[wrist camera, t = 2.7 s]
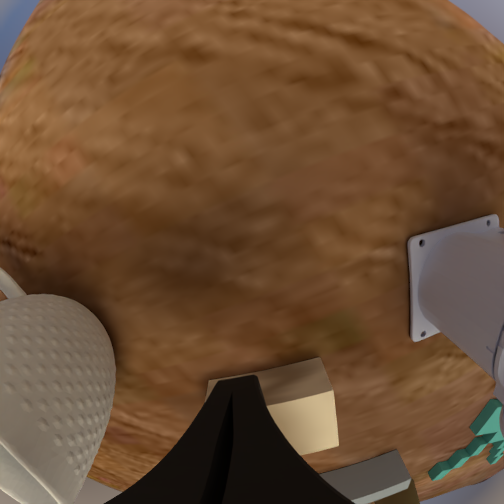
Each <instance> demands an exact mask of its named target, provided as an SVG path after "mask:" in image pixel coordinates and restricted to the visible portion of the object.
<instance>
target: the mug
mask: <svg viewBox="0 0 504 504" xmlns="http://www.w3.org/2000/svg"><path fill="white" fill-rule="evenodd" d="M0 290H2V292H3V293H4V294H5V295H6V296H7V298H8V299H6V300H4V301H0V489H1V490H2V491H4V492H5V493H6V494H8V495H9V496H11V497H12V498H13V499H15V500H16V501H18V502H20V503H21V504H74V502H75V500H76V497H77V495H78V493H79V491H80V489H81V488H82V486H83V482H84V481H85V479H86V476H87V473H88V471H89V470H90V469H91V465H92V463H93V461H94V457H95V455H96V454H97V453H98V448H99V447H100V443H101V441H102V438H103V437H104V434H105V431H106V426H107V424H108V420H109V418H110V411H111V409H112V403H113V397H114V393H115V391H114V386H115V383H116V377H115V372H116V366H115V359H114V352H113V348H112V344H111V341H110V338H109V336H108V334H107V332H106V330H105V328H104V327H103V325H102V324H101V322H100V321H99V320H98V318H97V317H96V316H95V315H94V314H93V313H92V312H91V311H90V310H89V309H87V308H86V307H85V306H83V305H82V304H80V303H78V302H77V301H75V300H72V299H70V298H66V297H62V296H57V295H53V294H49V295H48V294H38V295H37V294H31V295H27V294H26V293H25V292H24V291H23V290H22V289H21V287H20V286H19V285H18V284H17V283H16V282H15V281H14V279H13V278H12V277H11V276H10V275H9V274H8V273H7V272H6V271H4V270H3V269H2V268H1V267H0Z"/></svg>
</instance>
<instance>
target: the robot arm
mask: <svg viewBox="0 0 504 504" xmlns="http://www.w3.org/2000/svg"><path fill="white" fill-rule="evenodd" d="M486 223H487V224H486ZM421 239H422V244H421V245H420V246H419V242H420V240H421ZM408 257H409V273H410V299H411V331H410V337H411V339H412V340H413V341H414V342H418V341H420V340H423V339H425V338H427V337H430V336H432V335H435V334H437V333H439V332H442V333H443V334H444V335H445V336H446V337H448V338H449V339H450V340H451V341H452V342H453V343H454V344H456V345H457V346H458V347H459V348H460V349H461V350H462V351H463V352H465V353H466V354H467V355H468V356H469V357H470V358H471V359H472V360H473V361H475V362H476V363H477V364H478V365H479V366H480V367H481V368H482V369H483V370H484V371H485V372H486V373H488V374H489V375H490V376H491V377H492V378H493V379H494V380H495V381H496V387H495V390H494V392H493V395H494V396H495V397H496V398H497V399H498V400H499V401H500V402H501V403H502V404H503V406H502V408H501V411H500V417H499V424H500V430H501V433H502V436H503V438H504V228H500V227H499V218H498V216H497V215H496V214H491V215H488V216H484V217H481V218H477V219H474V220H470V221H467V222H463V223H460V224H456V225H453V226H449V227H446V228H442V229H438V230H435V231H431V232H427V233H424V234H420V235H416V236H413V237H411V238H410V239H409V241H408ZM423 331H424V332H423ZM422 332H423V333H422ZM421 333H422V334H421ZM104 504H355V503H354V502H352V501H351V500H350V499H348V498H347V497H345V496H344V495H343V494H341V493H340V492H339V491H337V490H336V489H335V488H334V487H332V486H331V485H330V484H329V483H328V482H326V481H325V480H324V479H323V478H322V477H321V476H320V475H319V474H318V473H317V472H316V471H315V470H314V469H313V468H311V467H310V466H309V465H308V464H307V463H306V461H305V460H304V459H303V458H302V457H301V456H300V455H299V454H298V453H297V451H296V450H295V449H294V448H293V447H292V445H291V444H290V443H289V441H288V440H287V439H286V437H285V436H284V435H283V433H282V432H281V430H280V429H279V427H278V426H277V424H276V423H275V421H274V419H273V418H272V416H271V414H270V412H269V410H268V408H267V406H266V402H265V399H264V396H263V393H262V389H261V386H260V383H259V379H258V376H256V375H254V374H253V375H248V376H242V377H237V378H231V379H225V380H219V381H218V382H217V383H216V385H215V386H214V388H213V390H212V391H211V393H210V395H209V397H208V398H207V400H206V402H205V403H204V405H203V407H202V408H201V410H200V411H199V413H198V414H197V416H196V418H195V419H194V421H193V422H192V424H191V425H190V426H189V428H188V429H187V430H186V432H185V433H184V434H183V436H182V437H181V438H180V440H179V441H178V442H177V444H176V445H175V446H174V447H173V448H172V449H171V451H170V452H169V453H168V454H167V455H166V456H165V457H164V458H163V459H162V460H161V461H160V462H159V463H158V464H157V465H156V466H155V467H154V468H153V469H152V470H151V471H149V472H148V473H147V474H146V475H145V476H144V477H142V478H141V479H140V480H139V481H137V482H136V483H135V484H134V485H132V486H131V487H129V488H128V489H127V490H125V491H124V492H122V493H121V494H119V495H117V496H116V497H114V498H113V499H111V500H109V501H107V502H106V503H104Z"/></svg>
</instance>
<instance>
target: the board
mask: <svg viewBox="0 0 504 504" xmlns="http://www.w3.org/2000/svg"><path fill="white" fill-rule="evenodd" d="M319 475H320V476H321V477H322V478H323V479H324V480H325V481H326V482H328V483H329V484H330V485H331V486H332V487H334V488H335V489H336V490H337V491H339V492H340V493H341V494H343V495H344V496H345V497H347V498H348V499H350V500H351V501H352V502H354V503H355V504H367V503H370V502H373V501H376V500H379V499H382V498H384V497H387V496H390V495H392V494H395V493H397V492H400V491H402V490H405V489H407V488H408V486H409V484H410V481H411V477H410V474H409V472H408V470H407V468H406V466H405V464H404V462H403V460H402V458H401V456H400V454H399V452H398V450H397V449H396V450H394V451H391V452H389V453H386V454H383V455H381V456H378V457H375V458H372V459H369V460H367V461H364V462H360V463H357V464H354V465H351V466H348V467H344V468H341V469H337V470H333V471H330V472H326V473H322V474H319Z"/></svg>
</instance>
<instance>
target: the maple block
mask: <svg viewBox="0 0 504 504" xmlns="http://www.w3.org/2000/svg"><path fill="white" fill-rule="evenodd" d="M253 374H254V375H256V376H258V379H259V383H260V386H261V389H262V393H263V396H264V399H265V402H266V406H267V408H268V410H269V412H270V414H271V416H272V418H273V419H274V421H275V423H276V424H277V426H278V427H279V429H280V430H281V432H282V433H283V435H284V436H285V437H286V439H287V440H288V441H289V443H290V444H291V445H292V447H293V448H294V449H295V450H296V451H297V453H298V454H299V455H305V454H309V453H313V452H317V451H321V450H325V449H329V448H333V447H336V446H339V441H338V430H337V420H336V410H335V401H334V392H333V388H332V386H331V383H330V381H329V378H328V376H327V373H326V371H325V368H324V366H323V363H322V361H321V358H320V357H318V358H314V359H310V360H306V361H302V362H298V363H294V364H290V365H286V366H282V367H277V368H273V369H268V370H263V371H258V372H253V373H248V374H243V375H238V376H232V377H226V378H220V379H214V380H209V382H208V388H207V393H206V399H205V402H206V400H207V398H208V397H209V395H210V393H211V391H212V390H213V388H214V386H215V385H216V383H217V382H218V381H219V380H225V379H231V378H237V377H242V376H248V375H253Z"/></svg>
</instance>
